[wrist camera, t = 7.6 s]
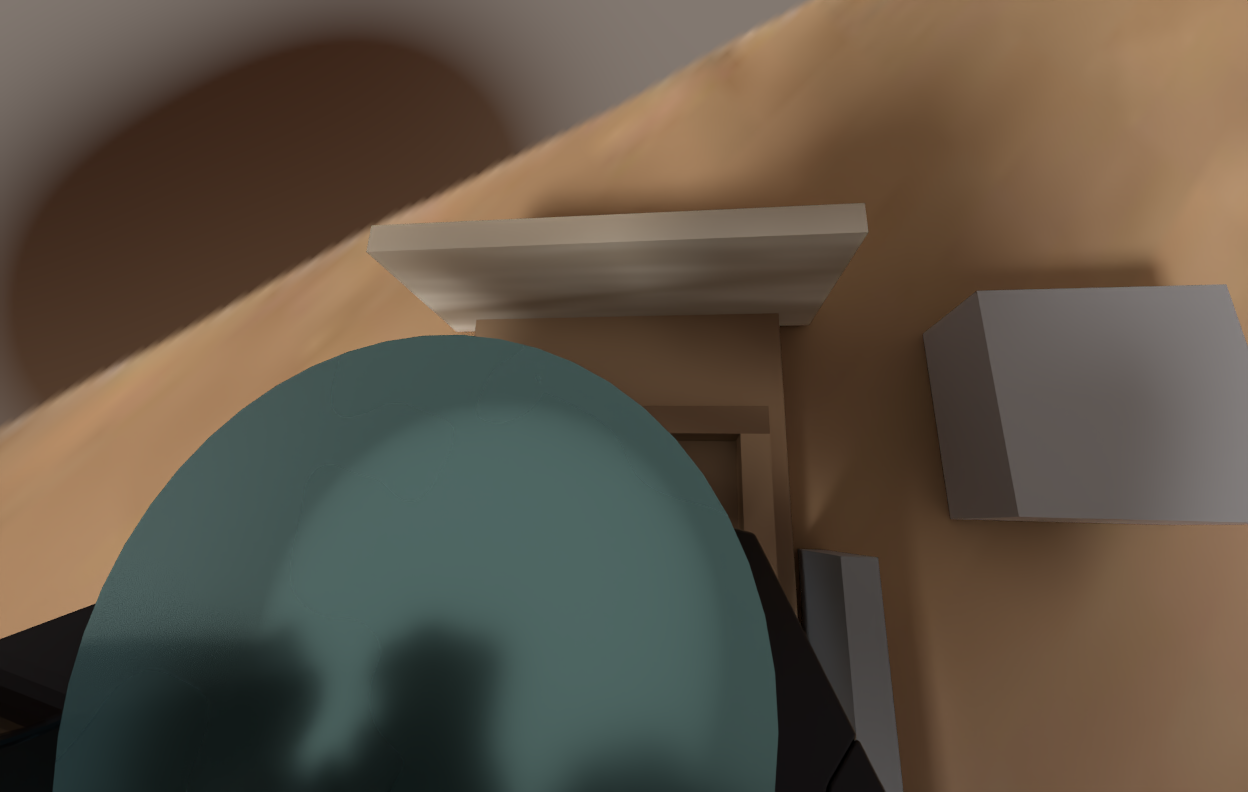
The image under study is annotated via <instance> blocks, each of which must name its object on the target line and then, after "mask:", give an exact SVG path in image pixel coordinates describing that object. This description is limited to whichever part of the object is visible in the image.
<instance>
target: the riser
mask: <svg viewBox="0 0 1248 792" xmlns="http://www.w3.org/2000/svg"><path fill="white" fill-rule="evenodd" d="M923 338H924V345H925V351H926V358H927V365H928V371H929V378H930V385H931V391H932V398H933V405H934V412H935V418H936V425H937V432H938V438H939V445H940V452H941V458H942V465H943V472H944V478H945V485H946V492H947V499H948V505H949V512H950V519H963V520H1001V521H1040V522H1079V523H1117V524H1156V525H1244V524H1248V346H1247V343H1246V340H1245V337H1244V335H1243V332H1242V329H1241V326H1240V323H1239V320H1238V317H1237V314H1236V311H1235V308H1234V305H1233V302H1232V300H1231V297H1230V294H1229V291H1228V288H1227V285H1186V286H1146V287H1107V288H1067V289H1027V290H988V291H976V292H975V293H973V294H972V295H971V296H970V297H968V298H967V299H966V300H965V301H963V302H962V303H961V304H960V305H958V306H957V307H956V308H955V309H953V310H952V311H951V312H950V313H948V314H947V315H946V316H945V317H943V318H942V319H941V320H940V321H938V322H937V323H936V324H935V325H933V326H932V327H931V328H930V329H928V330H927V331H926V332H925V333H923Z"/></svg>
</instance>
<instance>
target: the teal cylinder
mask: <svg viewBox="0 0 1248 792" xmlns="http://www.w3.org/2000/svg"><path fill="white" fill-rule="evenodd" d="M777 747H778V717H777V699H776V682H775V670H774V664H773V658H772V653H771V647H770V641H769V636H768V630H767V624H766V619H765V614H764V611H763V607H762V604H761V601H760V598H759V594H758V591H757V588H756V584H755V581H754V578H753V574H752V571H751V568H750V565H749V562H748V560H747V557H746V555H745V553H744V551H743V548H742V546H741V544H740V541H739V539H738V537H737V535H736V532H735V530H734V528H733V526H732V523H731V521H730V519H729V517H728V515H727V513H726V511H725V510H724V508H723V506H722V505H721V503H720V501H719V500H718V498H717V496H716V495H715V493H714V491H713V490H712V488H711V486H710V485H709V483H708V481H707V480H706V478H705V476H704V475H703V473H702V472H701V471H700V470H699V468H698V467H697V466H696V464H695V463H694V462H693V461H692V459H691V458H690V457H689V456H688V454H687V453H686V452H685V450H684V449H683V448H682V447H681V445H680V444H679V443H678V442H677V440H676V439H675V438H674V437H673V436H672V435H671V434H670V433H669V432H668V431H667V430H666V429H665V428H664V427H663V426H662V425H661V424H660V423H659V422H658V421H657V420H656V419H655V418H654V417H653V416H652V415H651V414H650V413H649V412H648V411H647V410H645V409H644V408H643V407H642V406H641V405H640V404H638V403H637V402H636V401H634V400H633V399H631V398H630V397H629V396H627V395H626V394H625V393H623V392H622V391H621V390H619V389H618V388H617V387H615V386H614V385H613V384H611V383H610V382H608V381H607V380H605V379H603V378H601V377H599V376H598V375H596V374H594V373H592V372H590V371H589V370H587V369H585V368H583V367H581V366H580V365H578V364H576V363H574V362H572V361H569V360H567V359H564V358H562V357H559V356H556V355H554V354H551V353H549V352H546V351H544V350H541V349H538V348H535V347H531V346H527V345H523V344H519V343H514V342H510V341H506V340H502V339H496V338H486V337H477V336H467V335H436V336H419V337H412V338H406V339H399V340H392V341H386V342H382V343H378V344H375V345H371V346H368V347H364V348H360V349H357V350H353V351H349V352H347V353H344V354H342V355H339V356H337V357H334V358H332V359H329V360H327V361H324V362H322V363H319V364H317V365H315V366H312V367H310V368H308V369H306V370H305V371H303V372H301V373H299V374H297V375H295V376H294V377H292V378H290V379H288V380H286V381H284V382H282V383H281V384H279V385H277V386H275V387H274V388H272V389H271V390H270V391H268V392H267V393H265V394H264V395H262V396H261V397H259V398H258V399H256V400H255V401H254V402H252V403H251V404H249V405H248V406H246V407H245V408H243V409H242V410H241V411H240V412H238V413H237V414H236V415H235V416H234V417H233V418H231V419H230V420H229V421H228V422H227V423H226V424H224V425H223V426H222V427H221V428H220V429H218V430H217V431H216V432H215V433H214V434H213V435H211V436H210V437H209V438H208V439H207V440H206V441H205V442H204V443H203V444H202V445H201V446H200V448H199V449H198V450H197V451H196V452H195V453H194V454H193V455H192V456H191V457H190V458H189V459H188V460H187V461H186V462H185V463H184V464H183V465H182V466H181V467H180V468H179V469H178V471H177V472H176V473H175V475H174V476H173V477H172V478H171V480H170V481H169V482H168V483H167V485H166V486H165V487H164V488H163V490H162V491H161V492H160V493H159V495H158V496H157V497H156V499H155V500H154V501H153V502H152V504H151V505H150V506H149V508H148V510H147V511H146V513H145V514H144V516H143V517H142V519H141V520H140V522H139V523H138V525H137V527H136V528H135V530H134V531H133V533H132V534H131V536H130V537H129V539H128V540H127V542H126V543H125V545H124V547H123V549H122V551H121V553H120V555H119V557H118V559H117V561H116V562H115V564H114V566H113V568H112V570H111V572H110V574H109V576H108V578H107V580H106V582H105V584H104V585H103V587H102V590H101V592H100V595H99V597H98V600H97V602H96V605H95V607H94V609H93V612H92V614H91V617H90V619H89V622H88V624H87V627H86V629H85V631H84V634H83V637H82V640H81V644H80V647H79V650H78V654H77V657H76V660H75V664H74V667H73V670H72V674H71V677H70V680H69V684H68V689H67V694H66V699H65V704H64V709H63V714H62V719H61V724H60V729H59V734H58V741H57V752H56V762H55V772H54V782H53V792H775V780H776V763H777Z"/></svg>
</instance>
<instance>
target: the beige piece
mask: <svg viewBox="0 0 1248 792" xmlns="http://www.w3.org/2000/svg"><path fill="white" fill-rule="evenodd" d="M867 234H868V225H867V217H866V209H865V203H852V204H830V205H809V206H787V207H765V208H743V209H721V210H700V211H678V212H656V213H634V214H612V215H591V216H569V217H547V218H525V219H504V220H482V221H460V222H438V223H416V224H395V225H373V226H371V231H370V236H369V241H368V246H367V251H366V252H367V253H368V254H369V255H371V256H372V257H373V258H374V259H375V260H376V261H377V262H378V263H380V264H381V265H382V266H383V267H384V268H385V269H386V270H387V271H389V272H390V273H391V274H392V275H393V276H394V277H395V278H396V279H398V280H399V281H400V282H401V283H402V284H403V285H404V286H406V287H407V288H408V289H409V290H410V291H411V292H412V293H413V294H415V295H416V296H417V297H418V298H419V299H420V300H421V301H422V302H424V303H425V304H426V305H427V306H428V307H429V308H430V309H431V310H433V311H434V312H435V313H436V314H437V315H438V316H439V317H441V318H442V319H443V320H444V321H445V322H446V323H447V324H448V325H450V326H451V327H452V328H453V329H454V330H455V331H456V332H461V331H475V335H474V336H477V337H486V338H496V339H502V340H506V341H510V342H514V343H519V344H523V345H527V346H531V347H535V348H538V349H541V350H544V351H546V352H549V353H551V354H554V355H556V356H559V357H562V358H564V359H567V360H569V361H572V362H574V363H576V364H578V365H580V366H581V367H583V368H585V369H587V370H589V371H590V372H592V373H594V374H596V375H598V376H599V377H601V378H603V379H605V380H607V381H608V382H610V383H611V384H613V385H614V386H615V387H617V388H618V389H619V390H621V391H622V392H623V393H625V394H626V395H627V396H629V397H630V398H631V399H633V400H634V401H636V402H637V403H638V404H640V405H641V406H642V407H643V408H644V409H645V410H647V411H648V412H649V413H650V414H651V415H652V416H653V417H654V418H655V419H656V420H657V421H658V422H659V423H660V424H661V425H662V426H663V427H664V428H665V429H666V430H667V431H668V432H669V433H670V434H671V435H672V436H673V437H674V438H675V439H676V440H677V442H678V443H679V444H680V445H681V447H682V448H683V449H684V450H685V452H686V453H687V454H688V456H689V457H690V458H691V459H692V461H693V462H694V463H695V464H696V466H697V467H698V468H699V470H700V471H701V472H702V473H703V475H704V476H705V478H706V480H707V481H708V483H709V485H710V486H711V488H712V490H713V491H714V493H715V495H716V496H717V498H718V500H719V501H720V503H721V505H722V506H723V508H724V510H725V511H726V513H727V515H728V517H729V519H730V521H731V523H732V526H733V528H736V529H740V530H745V531H749V532H752V533H754V534H755V535H756V537H757V539H758V541H759V543H760V545H761V547H762V549H763V551H764V553H765V555H766V557H767V559H768V561H769V563H770V565H771V567H772V569H773V571H774V573H775V575H776V577H777V579H778V580H779V582H780V584H781V586H782V588H783V590H784V592H785V594H786V596H787V598H788V600H789V602H790V604H791V606H792V608H793V610H794V612H795V614H796V616H797V618H798V614H797V598H796V582H795V567H794V551H793V535H792V519H791V503H790V487H789V472H788V456H787V440H786V424H785V408H784V392H783V377H782V361H781V345H780V329H779V326H790V325H809V324H810V323H811V321H812V320H813V318H814V316H815V315H816V313H817V312H818V310H819V309H820V307H821V305H822V304H823V302H824V301H825V299H826V298H827V296H828V295H829V293H830V291H831V290H832V288H833V287H834V285H835V284H836V282H837V280H838V279H839V277H840V276H841V274H842V273H843V271H844V270H845V268H846V266H847V265H848V263H849V262H850V260H851V259H852V257H853V255H854V254H855V252H856V251H857V249H858V248H859V246H860V245H861V243H862V241H863V240H864V238H865V237H866V235H867Z"/></svg>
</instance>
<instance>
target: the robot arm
mask: <svg viewBox="0 0 1248 792" xmlns="http://www.w3.org/2000/svg"><path fill="white" fill-rule="evenodd" d="M734 530H735V532H736V535H737V537H738V539H739V541H740V544H741V546H742V548H743V551H744V553H745V555H746V557H747V560H748V562H749V565H750V568H751V571H752V574H753V578H754V581H755V584H756V588H757V591H758V594H759V598H760V601H761V604H762V607H763V611H764V614H765V619H766V624H767V630H768V636H769V641H770V647H771V653H772V658H773V664H774V670H775V682H776V699H777V717H778V747H777V763H776V780H775V792H886V791H885V789H884V787H883V785H882V784H881V782H880V780H879V778H878V776H877V774H876V772H875V770H874V768H873V766H872V764H871V762H870V760H869V758H868V756H867V754H866V752H865V750H864V748H863V746H862V744H861V742H860V741H858V740H855V738H856V733H855V731H854V729H853V727H852V725H851V723H850V721H849V719H848V717H847V715H846V713H845V711H844V709H843V707H842V705H841V703H840V701H839V699H838V697H837V695H836V693H835V691H834V689H833V687H832V685H831V683H830V681H829V679H828V677H827V675H826V673H825V672H824V670H823V668H822V666H821V664H820V662H819V660H818V658H817V656H816V654H815V652H814V650H813V648H812V646H811V644H810V642H809V640H808V638H807V636H806V634H805V632H804V630H803V628H802V626H801V624H800V622H799V620H798V618H797V616H796V614H795V612H794V610H793V608H792V606H791V604H790V602H789V600H788V598H787V596H786V594H785V592H784V590H783V588H782V586H781V584H780V582H779V580H778V579H777V577H776V575H775V573H774V571H773V569H772V567H771V565H770V563H769V561H768V559H767V557H766V555H765V553H764V551H763V549H762V547H761V545H760V543H759V541H758V539H757V537H756V535H755V534H754V533H752V532H749V531H745V530H740V529H736V528H734ZM95 605H96V604H93V605H91V606H88V607H85V608H83V609H80V610H77V611H75V612H72V613H69V614H66V615H64V616H61V617H58V618H56V619H53V620H50V621H48V622H45V623H42V624H40V625H37V626H34V627H32V628H29V629H26V630H24V631H21V632H18V633H16V634H13V635H10V636H8V637H5V638H2V639H0V792H53V782H54V772H55V762H56V752H57V741H58V734H59V729H60V724H61V719H62V714H63V709H64V704H65V699H66V694H67V689H68V684H69V680H70V677H71V674H72V670H73V667H74V664H75V660H76V657H77V654H78V650H79V647H80V644H81V640H82V637H83V634H84V631H85V629H86V627H87V624H88V622H89V619H90V617H91V614H92V612H93V609H94V607H95ZM854 740H855V741H854Z"/></svg>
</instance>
